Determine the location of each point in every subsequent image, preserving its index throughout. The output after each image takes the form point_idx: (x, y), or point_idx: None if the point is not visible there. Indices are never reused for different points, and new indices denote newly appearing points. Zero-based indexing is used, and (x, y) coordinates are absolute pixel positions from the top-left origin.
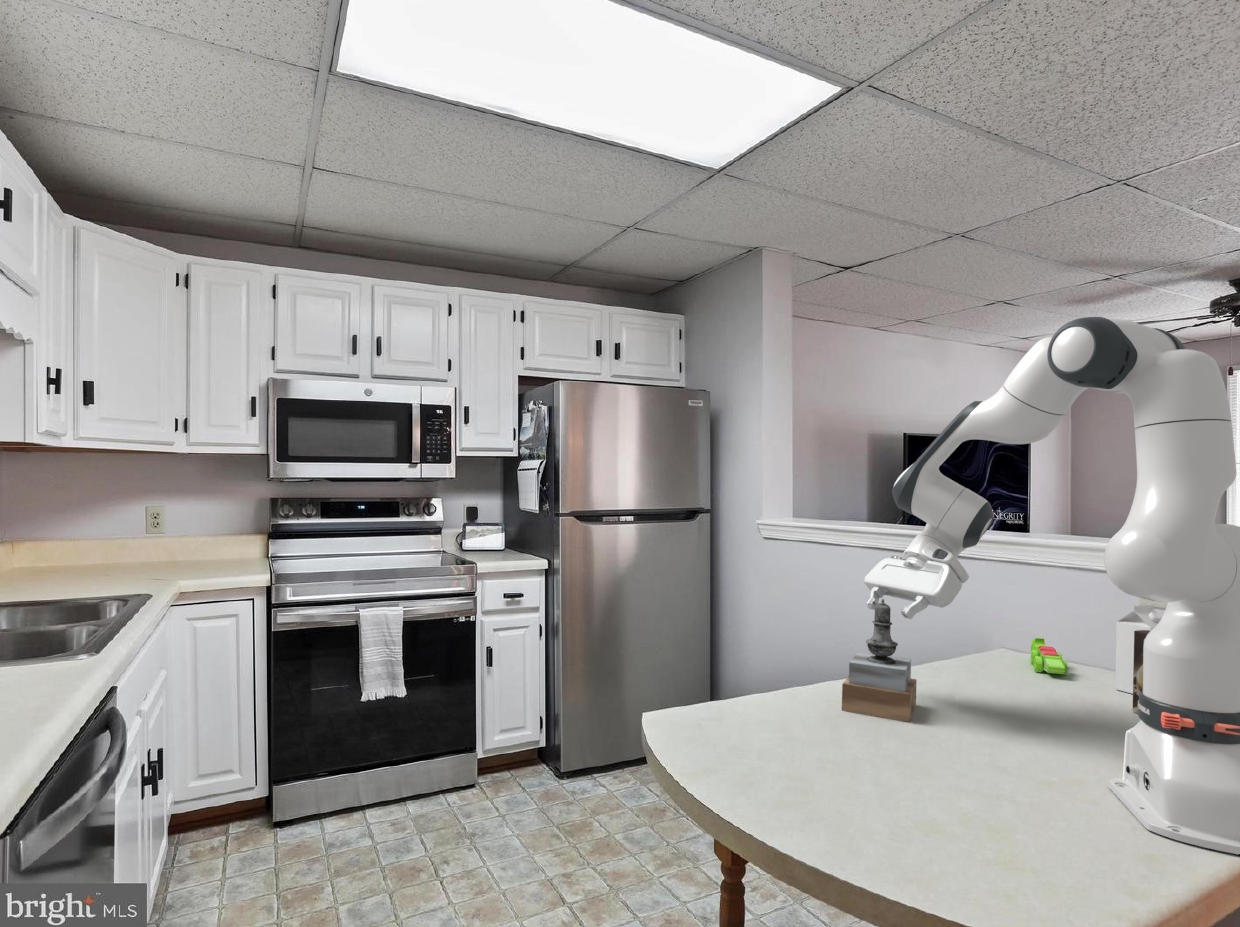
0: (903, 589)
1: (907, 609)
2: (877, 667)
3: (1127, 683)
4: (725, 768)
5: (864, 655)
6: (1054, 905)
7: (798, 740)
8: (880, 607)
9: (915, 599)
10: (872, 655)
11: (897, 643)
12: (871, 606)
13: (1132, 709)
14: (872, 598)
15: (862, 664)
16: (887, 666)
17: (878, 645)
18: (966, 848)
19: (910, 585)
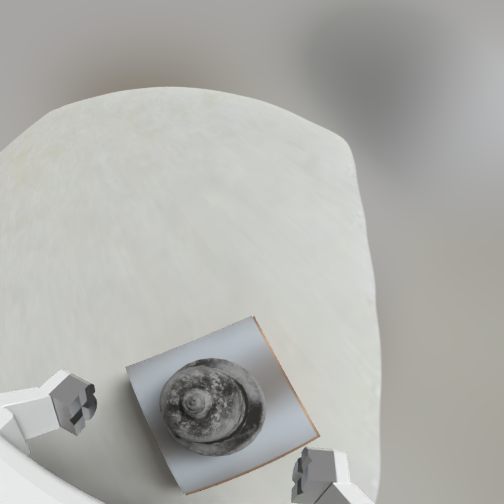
0: (76, 488)
1: (56, 379)
2: (186, 344)
3: None
4: (203, 111)
5: (282, 419)
6: (10, 146)
7: (203, 184)
8: (189, 367)
9: (11, 412)
10: (270, 440)
11: (174, 437)
12: (305, 448)
13: None
14: (332, 479)
15: (221, 329)
16: (170, 365)
17: (194, 361)
18: (38, 151)
19: (19, 491)
